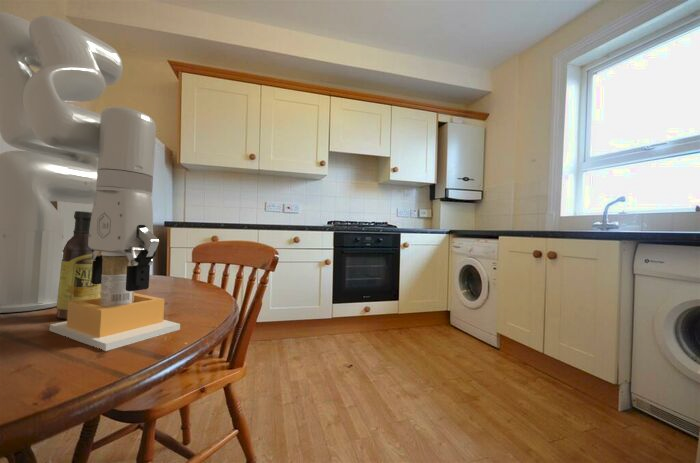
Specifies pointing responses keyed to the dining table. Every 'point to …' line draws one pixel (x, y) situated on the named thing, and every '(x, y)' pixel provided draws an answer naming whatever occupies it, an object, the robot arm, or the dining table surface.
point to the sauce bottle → (77, 267)
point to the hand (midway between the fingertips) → (119, 286)
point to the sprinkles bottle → (115, 280)
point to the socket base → (115, 322)
